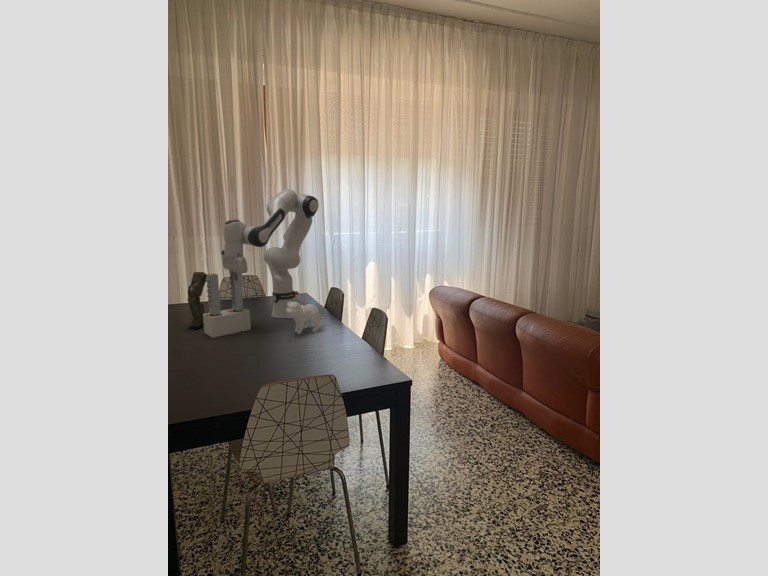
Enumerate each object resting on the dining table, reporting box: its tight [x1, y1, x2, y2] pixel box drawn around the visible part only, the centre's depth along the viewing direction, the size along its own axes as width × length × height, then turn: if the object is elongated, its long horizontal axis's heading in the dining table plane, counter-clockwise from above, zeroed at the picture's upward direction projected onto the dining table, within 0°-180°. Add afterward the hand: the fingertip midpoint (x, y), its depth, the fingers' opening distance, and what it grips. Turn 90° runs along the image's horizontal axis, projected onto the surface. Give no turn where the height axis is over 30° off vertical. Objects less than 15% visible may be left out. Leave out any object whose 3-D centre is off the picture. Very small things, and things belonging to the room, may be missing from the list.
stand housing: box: [203, 307, 252, 338], centre depth 225 cm, size 20×10×11 cm, turn 134°
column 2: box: [229, 272, 244, 312], centre depth 226 cm, size 4×4×22 cm
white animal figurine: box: [286, 301, 324, 335], centre depth 226 cm, size 25×10×17 cm, turn 141°
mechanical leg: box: [187, 271, 207, 331], centre depth 231 cm, size 14×7×30 cm, turn 169°
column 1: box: [205, 273, 222, 317], centre depth 217 cm, size 4×4×22 cm
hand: (236, 279), depth 224 cm, fingers open, 5 cm apart
